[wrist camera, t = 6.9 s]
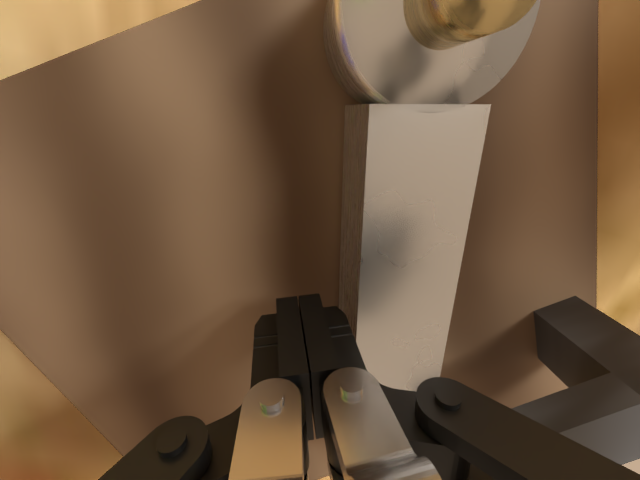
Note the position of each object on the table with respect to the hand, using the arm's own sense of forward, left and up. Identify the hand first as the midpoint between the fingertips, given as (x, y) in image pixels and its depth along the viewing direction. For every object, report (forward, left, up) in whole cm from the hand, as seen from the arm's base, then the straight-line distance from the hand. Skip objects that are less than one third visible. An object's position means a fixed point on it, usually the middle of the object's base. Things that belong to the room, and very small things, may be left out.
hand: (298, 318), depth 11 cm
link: (-4, -1, -1) cm, 4 cm away
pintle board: (-1, +1, -3) cm, 3 cm away
